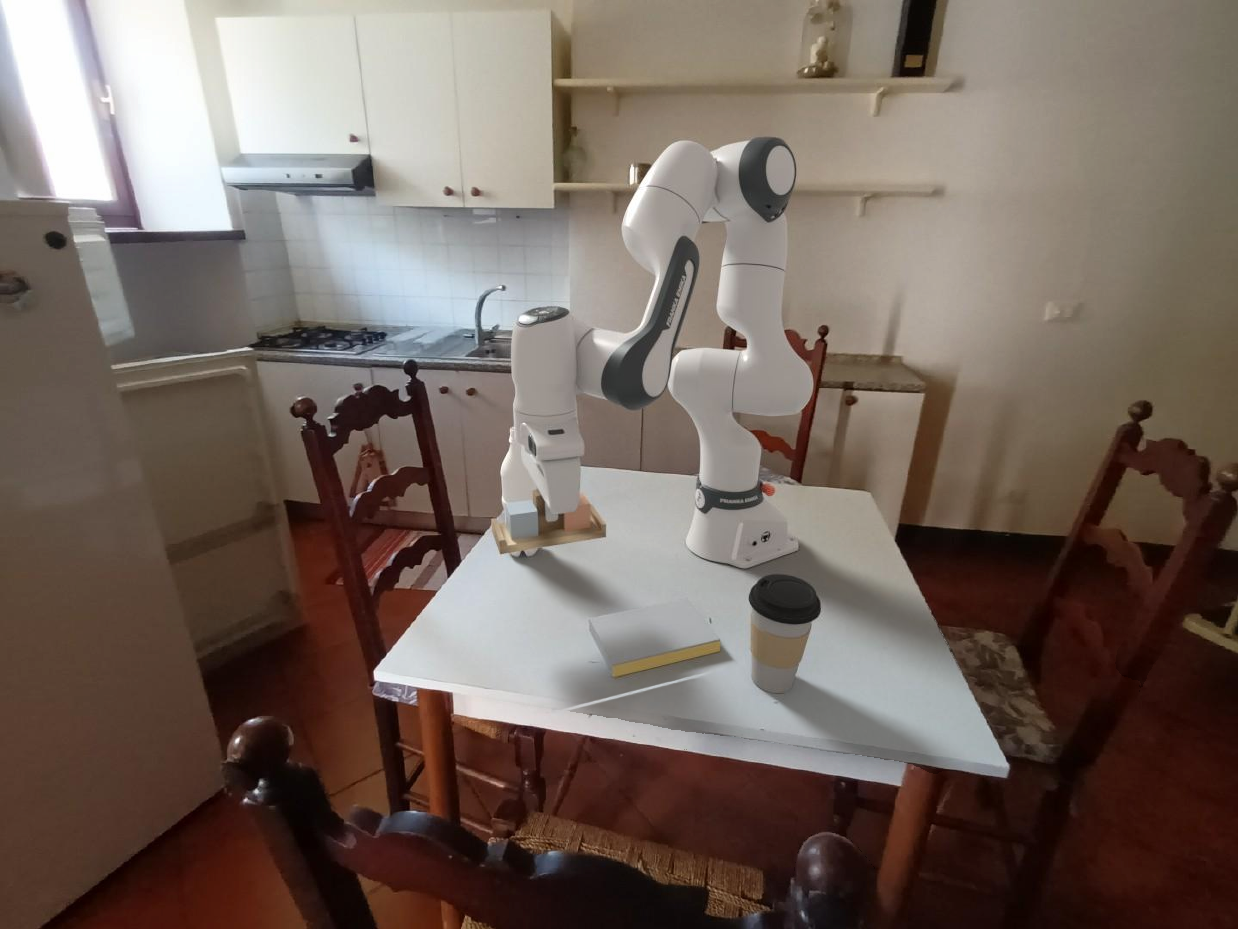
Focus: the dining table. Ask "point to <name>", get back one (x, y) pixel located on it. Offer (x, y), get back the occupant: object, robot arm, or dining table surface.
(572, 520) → the block
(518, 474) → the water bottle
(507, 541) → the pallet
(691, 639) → the dock
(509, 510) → the block
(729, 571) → the dining table surface
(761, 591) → the coffee cup
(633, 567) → the dining table surface
